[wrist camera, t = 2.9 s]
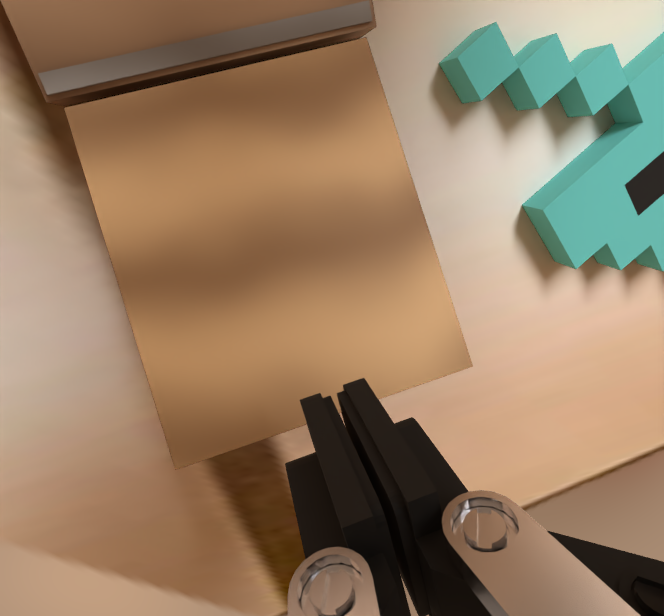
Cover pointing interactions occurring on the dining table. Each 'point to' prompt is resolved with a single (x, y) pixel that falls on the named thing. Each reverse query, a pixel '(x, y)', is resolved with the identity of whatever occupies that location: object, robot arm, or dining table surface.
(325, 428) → the robot arm
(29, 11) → the walnut board
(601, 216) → the alien figure
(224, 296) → the oak plank
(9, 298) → the dining table surface
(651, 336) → the dining table surface
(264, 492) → the dining table surface
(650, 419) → the dining table surface
